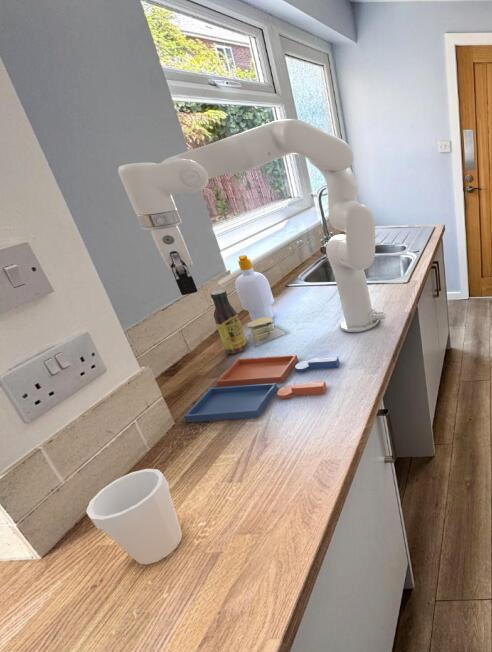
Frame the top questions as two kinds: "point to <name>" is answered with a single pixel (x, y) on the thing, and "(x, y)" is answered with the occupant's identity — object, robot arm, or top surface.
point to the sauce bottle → (228, 323)
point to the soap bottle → (254, 291)
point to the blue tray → (232, 402)
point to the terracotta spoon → (302, 389)
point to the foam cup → (138, 515)
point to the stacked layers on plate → (262, 331)
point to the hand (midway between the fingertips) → (187, 287)
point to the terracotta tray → (258, 371)
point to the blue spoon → (317, 364)
